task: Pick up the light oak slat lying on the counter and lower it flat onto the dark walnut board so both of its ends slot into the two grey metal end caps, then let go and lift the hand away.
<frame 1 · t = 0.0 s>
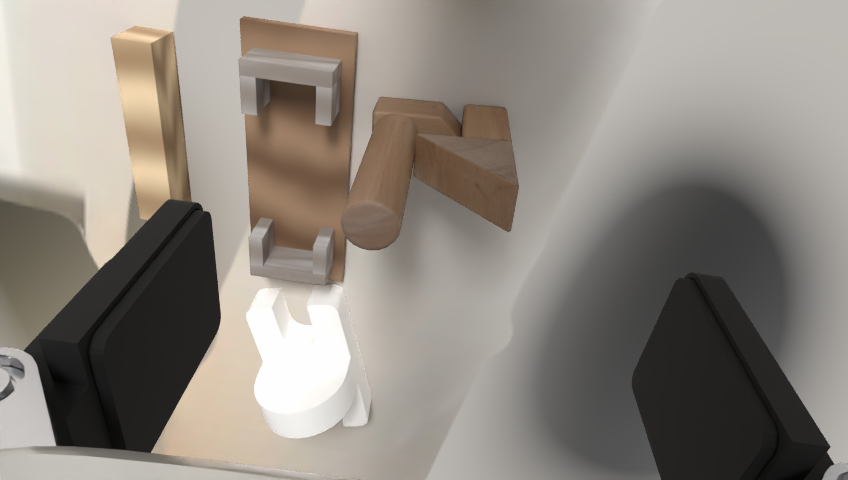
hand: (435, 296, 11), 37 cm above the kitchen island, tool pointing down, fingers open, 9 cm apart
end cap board: (300, 162, 51), on the kitchen island
oak slat: (166, 121, 50), on the kitchen island
wooden block: (441, 120, 48), on the kitchen island
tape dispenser: (318, 347, 64), on the kitchen island
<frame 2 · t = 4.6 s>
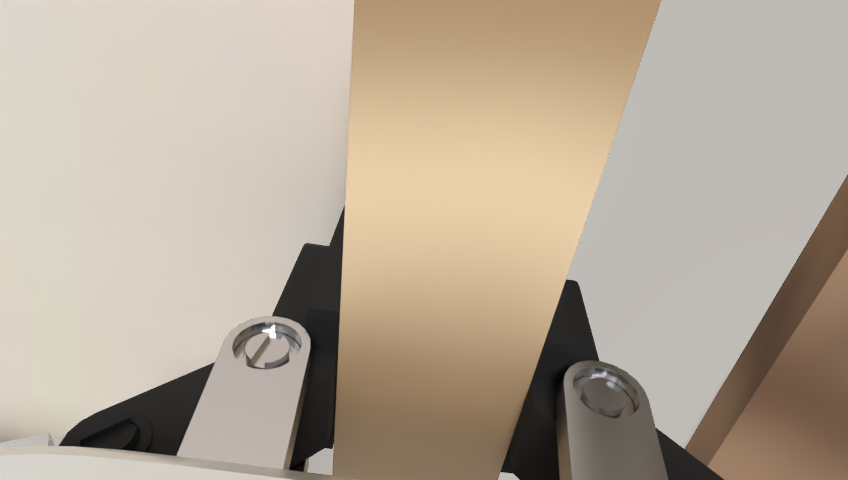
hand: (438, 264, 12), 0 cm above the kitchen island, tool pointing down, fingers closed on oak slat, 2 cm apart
oak slat: (439, 257, 12), on the kitchen island, touching gripper
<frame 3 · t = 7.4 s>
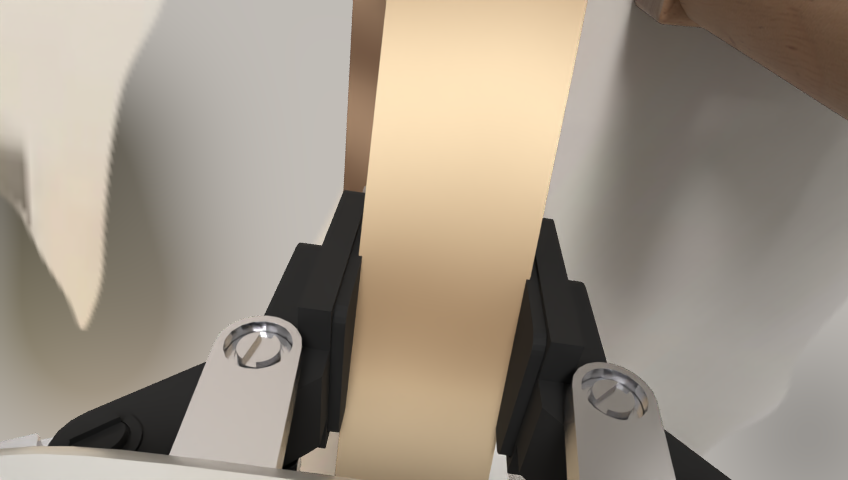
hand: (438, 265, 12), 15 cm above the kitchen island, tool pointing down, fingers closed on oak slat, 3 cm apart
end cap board: (454, 70, 25), on the kitchen island
oak slat: (438, 249, 14), point 14 cm above the kitchen island, tilted 16°, touching gripper
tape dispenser: (431, 414, 38), on the kitchen island
when the fingers open (4 cm above the kitchen island, at t = 10.3 s): oak slat drops 1 cm, resting on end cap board.
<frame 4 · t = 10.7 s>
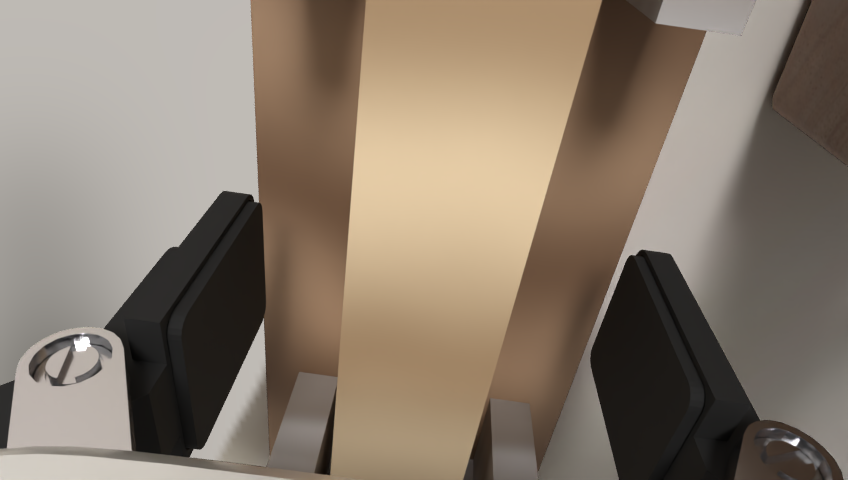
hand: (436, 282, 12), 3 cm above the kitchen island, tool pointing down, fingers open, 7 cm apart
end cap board: (443, 204, 15), on the kitchen island
oak slat: (429, 246, 14), point 1 cm above the kitchen island, touching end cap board
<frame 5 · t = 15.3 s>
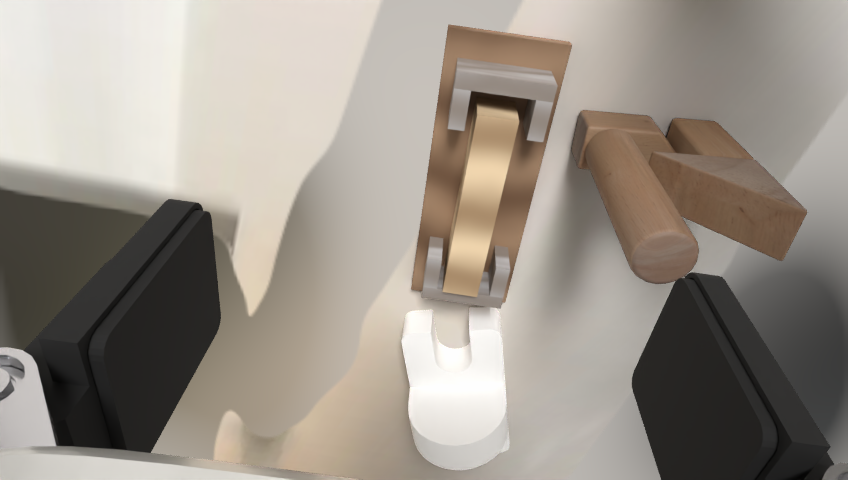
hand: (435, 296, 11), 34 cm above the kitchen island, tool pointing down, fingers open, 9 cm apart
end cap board: (480, 178, 48), on the kitchen island
oak slat: (476, 191, 47), point 1 cm above the kitchen island, touching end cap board
wooden block: (641, 134, 45), on the kitchen island
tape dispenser: (459, 370, 61), on the kitchen island
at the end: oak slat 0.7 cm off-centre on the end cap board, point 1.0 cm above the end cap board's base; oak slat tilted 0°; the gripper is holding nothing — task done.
